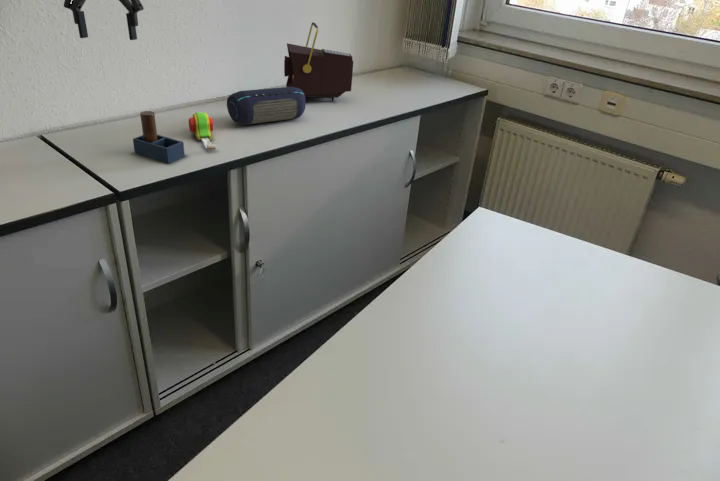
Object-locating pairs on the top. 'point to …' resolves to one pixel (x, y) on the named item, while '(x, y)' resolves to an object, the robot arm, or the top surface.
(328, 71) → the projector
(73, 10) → the robot arm
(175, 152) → the divided box
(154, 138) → the brown cylinder
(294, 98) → the portable speaker
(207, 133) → the toy measuring tape
